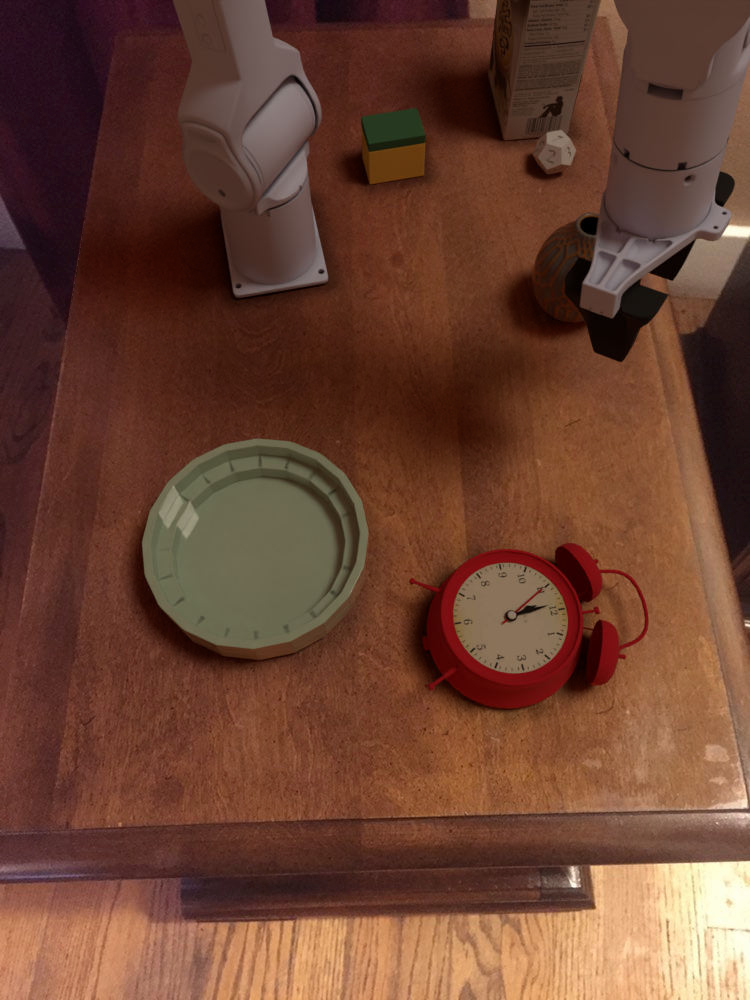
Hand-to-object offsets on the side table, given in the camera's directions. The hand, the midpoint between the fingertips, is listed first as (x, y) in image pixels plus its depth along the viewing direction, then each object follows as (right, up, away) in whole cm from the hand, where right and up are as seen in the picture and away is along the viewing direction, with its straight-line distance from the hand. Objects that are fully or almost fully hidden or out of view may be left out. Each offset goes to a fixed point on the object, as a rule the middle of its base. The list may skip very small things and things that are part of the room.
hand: (635, 312), depth 54 cm
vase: (-1, +4, +14) cm, 14 cm away
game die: (-1, +18, +20) cm, 27 cm away
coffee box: (-3, +25, +23) cm, 34 cm away
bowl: (-25, -16, +4) cm, 30 cm away
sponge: (-16, +18, +20) cm, 31 cm away
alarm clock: (-7, -21, +2) cm, 22 cm away
